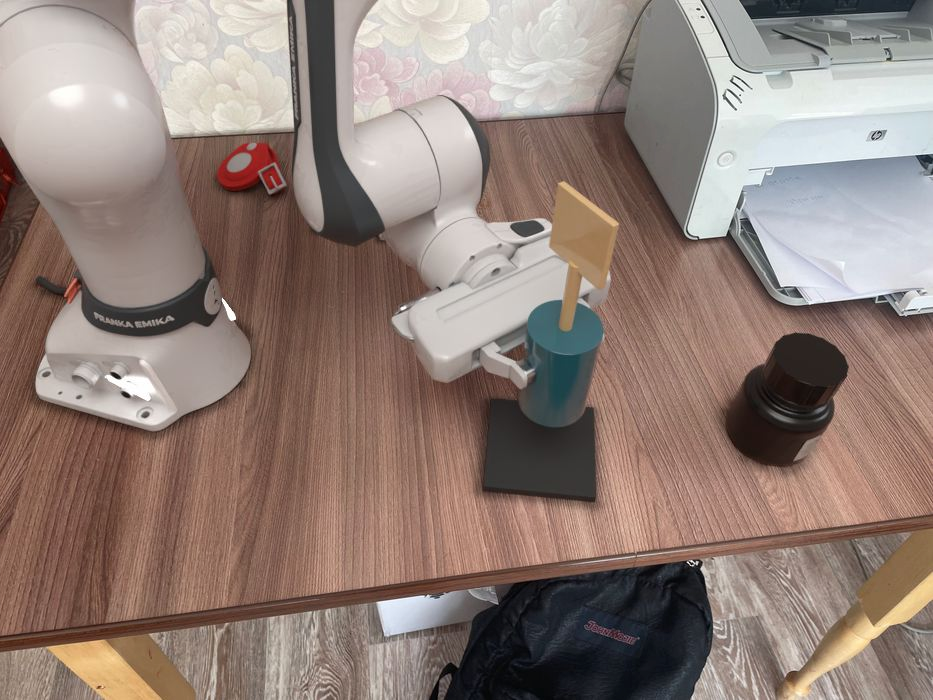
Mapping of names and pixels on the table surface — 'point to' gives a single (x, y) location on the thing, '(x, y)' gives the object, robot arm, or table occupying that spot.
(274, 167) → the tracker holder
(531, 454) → the plate
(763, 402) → the ink bottle
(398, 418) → the table surface
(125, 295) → the robot arm
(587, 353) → the spatula crock
